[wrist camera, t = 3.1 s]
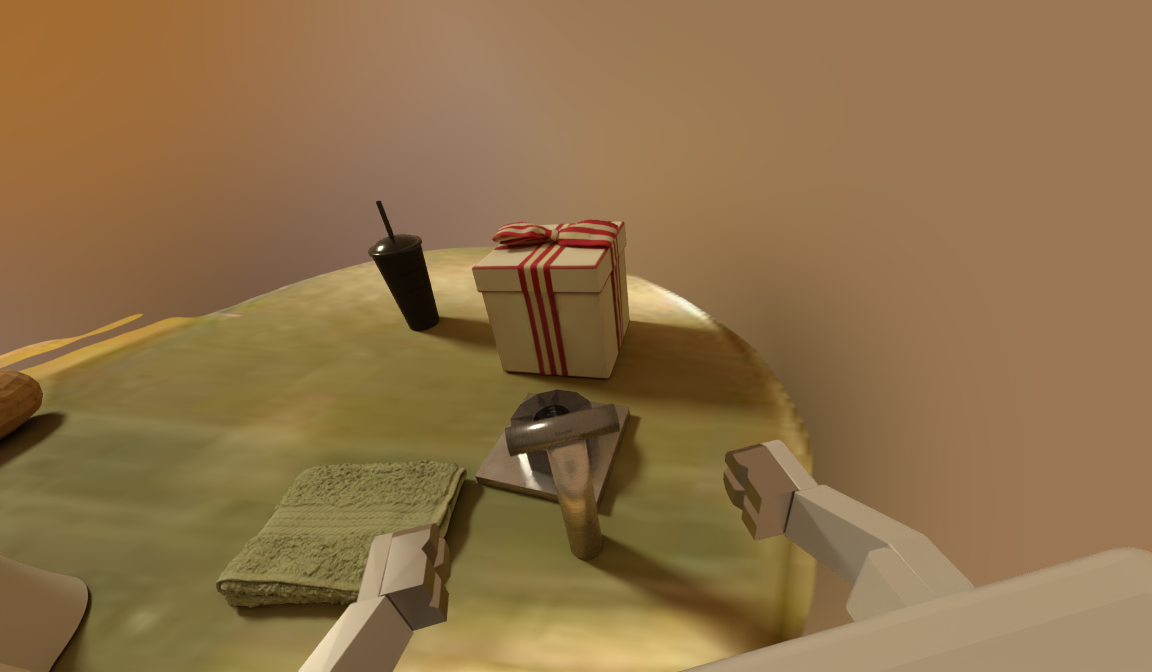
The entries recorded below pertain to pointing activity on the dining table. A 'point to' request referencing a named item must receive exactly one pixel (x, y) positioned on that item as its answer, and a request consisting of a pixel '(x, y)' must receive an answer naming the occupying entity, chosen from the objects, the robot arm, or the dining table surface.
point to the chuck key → (570, 467)
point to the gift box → (557, 297)
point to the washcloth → (337, 530)
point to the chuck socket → (534, 467)
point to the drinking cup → (406, 276)
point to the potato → (17, 400)
